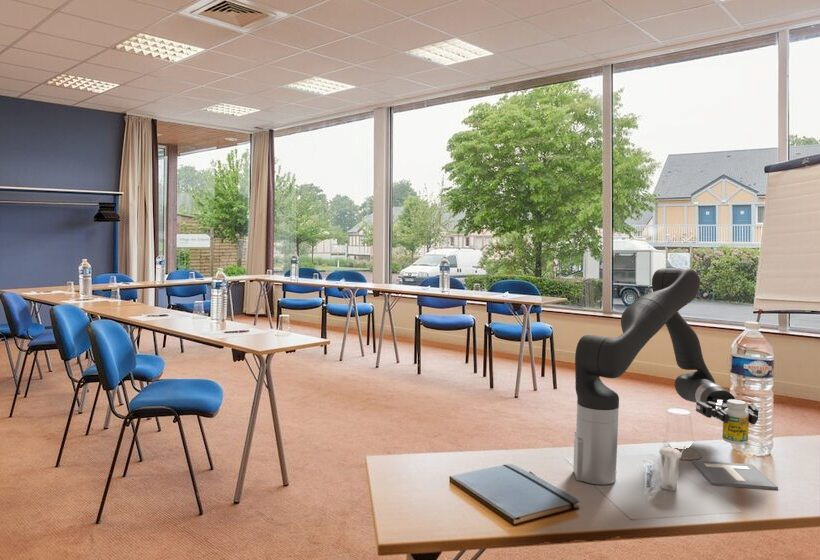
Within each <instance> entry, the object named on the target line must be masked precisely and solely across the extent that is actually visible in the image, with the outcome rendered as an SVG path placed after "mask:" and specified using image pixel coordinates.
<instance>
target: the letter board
mask: <svg viewBox="0 0 820 560" xmlns="http://www.w3.org/2000/svg"><path fill="white" fill-rule="evenodd" d="M692 464H693V465H694V466H695V467H696V468H697V469H698V471H699V472H700V473H701V474H702V475H703V477H704V478H705V479H706V480H707V481H708V482H709V483H710V485H712V486H713V485H714V486H725V487H739V488H752V489H764V490H765V489H766V490H777V491H778V490H779V487H778V486H779V485H776V483H774V482H773V481H772V480H770V479H769V478H768V476H766V475H765V474H764V473H763V472H762V471H761V470H760V469H758V468H757V467H756V466H755V465H754V464H752V463H736V462H721V461H708V460H694V459H693V460H692Z"/></svg>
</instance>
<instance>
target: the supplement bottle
mask: <svg viewBox="0 0 820 560" xmlns="http://www.w3.org/2000/svg"><path fill="white" fill-rule="evenodd" d="M735 399H736V398H735ZM735 399H730V400H727V407H728V408H726V409H725V410H724V411H725V412H726V413H727V414H728V423H724V422H723V421H722V440H723V441H725V442H727V443H729V444H733V445H746V444H747V443H748V442H749V426H750V423H749V413H748V412H747V411H746V410H745V409H746V406H747V402H746V401H744V400H740V399H736V400H735Z"/></svg>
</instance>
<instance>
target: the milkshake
mask: <svg viewBox="0 0 820 560" xmlns="http://www.w3.org/2000/svg"><path fill="white" fill-rule="evenodd" d="M685 448H686V445H684V446H683V448H682V450H681V451H680V450H679V449H677V448H674V447H671V446H668V447H667V446H664V447H661V448H660V449H659V451H658V452H659V465H660V467H659V469H660V470H659V471H660V472H659V473H660V488H661V489H663V490H665V491H671V492H674V491H677V488H678V481H679V471H680V466H681V460H682V453H683V452H684V450H685Z"/></svg>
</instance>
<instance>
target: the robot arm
mask: <svg viewBox="0 0 820 560" xmlns="http://www.w3.org/2000/svg"><path fill="white" fill-rule="evenodd" d="M700 279H701V278H700V276H699V275H698V273H697V271H695V270H694V269H692V268H688V267H671V268H670V267H669V268H659V269H657V270H655V271H654V273H653V274H652V278H651V289H652V290H651V291H652V292H649V293H647V294H644V295H642V296H640V297H639V298H636V299H635V300H634V301H632V302H631V303H630V305H628V306H627V307H626V308H625V310H624V311H623V312H622V314H621V318H620V326H621V330H622V334H621V335H619V336H617V337H610V336H603V335H597V334H596V335H593V334H586V335H582V337H581V338H579V340H578V342H577V345H576V349H575V355H574V356H575V357H574V368H575V369H574V370H575V371H574V372H575V376H574V377H575V384H574V385H575V393H576V396H577V397H576V398H577V401H576V429H575V432H574V442H573V443H574V444H573V445H574V446H573V473H574V477H575V480H576V481H580V482H585V483H587V484H593V485H600V486H601V485H611V484H614V483H615V482H616V480H617V463H618V461H617V457H618V439H619V438H618V435H619V434H618V433H619V432H618V431H619V430H618V429H619V410H620V409H619V408H620V397H619V394H618V393H617V392H616V391H614V390H613V389H611V388H609V387H608V386H607V385H606V384H604V382H603V381H602V380H601V378H606V379H618V378H620V377H621V376H622V375H624V373H625V372H626V371H627V370H628V369H629V367H630V366H631V364H632V363H633V362H634V360H635V359H636V357H637V356H638V354H639V352H640V351H641V350H642V349H643V348H644V347H645V346H646V345H647V343H648V342H649V341H650V340H651V339H652V338H653V337H654V336H655V335H656V334H657V333H658V332H659V331H660V330H661V329H662V328H663V327H664V326H666V329H667V330H668V334H669V337H670V340H671V344H672V348H673V353H674V356H675V362H676V365H677V367H679V368H680V369H681V370H686V371H687V370H688V371H691V372H687V373H684V374H680V375H678V376H677V377H676V378H675V380H674V388H675V391H676V393H677V394H678V395H679V397H681V398H682V399H684V400H685V401H688V402H692V403H696V404H695V412H697V413H699V414H701V415H702V416H704V417H706V418H709V419H711V418H714V419H716V420H719V421H721V422H722V423H723V422H724V423H728V414H727V413H726V412H725V411H724V410H725V409H726V408H728V407H727V400H730V399H735V400H737V399H736V397H735V395H733V393H731V392H730V391H729V390H727V389H725V388H724V387H723V386H721V385H719V384H717V383H716V380H715V379H714V377H713V375H712V373H711V372H710V370H709V369H708V367H707V364H706V362H705V359H704V356H703V351H702V348H701V347H702V346H701V343H700V339H699V337H698V335H697V333H696V332H695V331H694V329H693V328H692V326H690V324H689V323H688V322H687V321H686V320H685V319H684V317H682V315H681V314H680V312H679V311H680V310H681V309H683V308H684V307H685V306H686V305H688V304H690V303H691V302H693V300H694V299H695V298H696V297H697V295H698V293H699V290H700V286H701V280H700ZM745 410H746V411H747V412H748V413H749V425H750V424H751V425H753V426H754V425H756V424H757V423H758V421H759V412H760V410H759V408H758V407H757V405H755V403H749V404H748V405H746V409H745Z"/></svg>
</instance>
